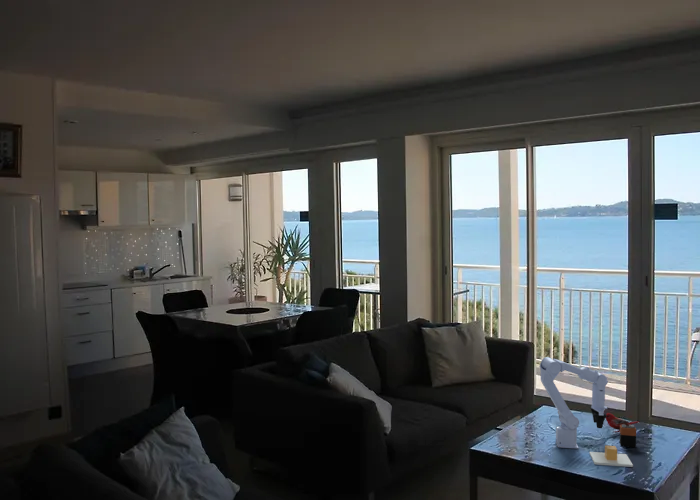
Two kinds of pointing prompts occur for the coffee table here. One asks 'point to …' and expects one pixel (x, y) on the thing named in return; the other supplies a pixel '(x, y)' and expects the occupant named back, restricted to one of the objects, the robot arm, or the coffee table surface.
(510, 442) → the coffee table surface
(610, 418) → the decorative bird figurine
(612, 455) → the tan cardboard-like box
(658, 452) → the coffee table surface
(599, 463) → the plate
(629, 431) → the battery
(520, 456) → the coffee table surface
